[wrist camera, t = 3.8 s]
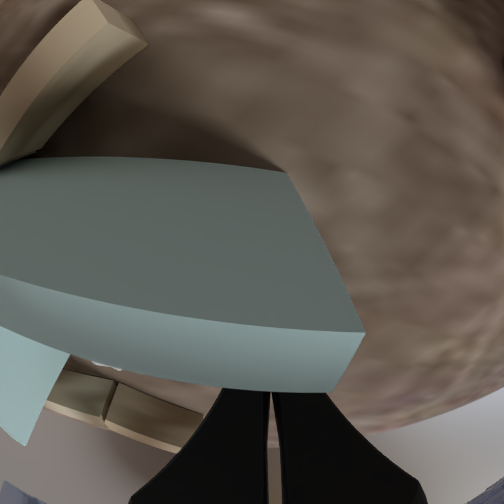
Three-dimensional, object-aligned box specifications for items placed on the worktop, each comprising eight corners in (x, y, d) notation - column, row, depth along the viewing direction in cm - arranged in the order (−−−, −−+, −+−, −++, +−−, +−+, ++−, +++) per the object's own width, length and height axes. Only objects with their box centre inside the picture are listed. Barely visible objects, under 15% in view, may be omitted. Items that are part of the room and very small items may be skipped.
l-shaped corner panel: (60, 349, 14) (14, 439, 7) (15, 159, 8) (-111, 228, 2) (243, 388, 15) (239, 509, 8) (286, 172, 9) (365, 333, 3)
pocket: (150, 14, 6) (113, -16, 4) (205, 422, 17) (201, 458, 14) (-78, 144, 6) (-104, 157, 4) (8, 374, 17) (-4, 394, 14)
